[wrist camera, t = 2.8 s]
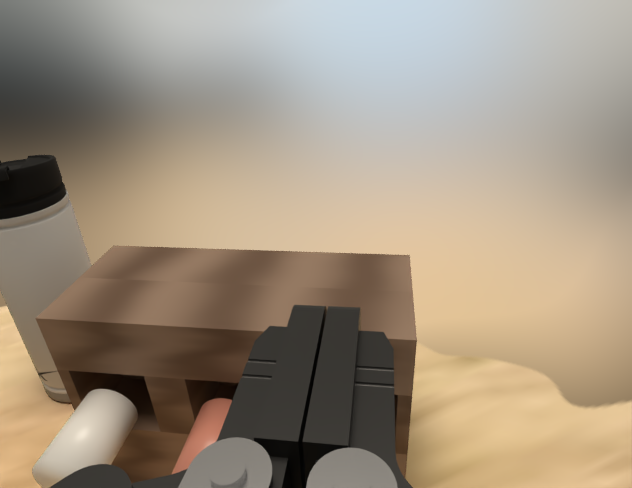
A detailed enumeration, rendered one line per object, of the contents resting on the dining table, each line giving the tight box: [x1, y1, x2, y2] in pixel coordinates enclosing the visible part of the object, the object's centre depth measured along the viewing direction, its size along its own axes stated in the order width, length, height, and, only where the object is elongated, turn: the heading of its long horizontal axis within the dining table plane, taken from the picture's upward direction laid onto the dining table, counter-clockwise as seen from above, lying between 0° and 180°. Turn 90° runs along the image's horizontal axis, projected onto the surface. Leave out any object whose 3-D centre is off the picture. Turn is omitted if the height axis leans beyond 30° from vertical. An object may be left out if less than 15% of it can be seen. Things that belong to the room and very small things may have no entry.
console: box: [35, 246, 417, 483], centre depth 30 cm, size 20×8×14 cm, turn 82°
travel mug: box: [0, 155, 92, 402], centre depth 35 cm, size 6×7×20 cm
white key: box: [32, 389, 138, 488], centre depth 24 cm, size 3×4×3 cm
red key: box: [172, 398, 232, 474], centre depth 23 cm, size 3×4×3 cm
